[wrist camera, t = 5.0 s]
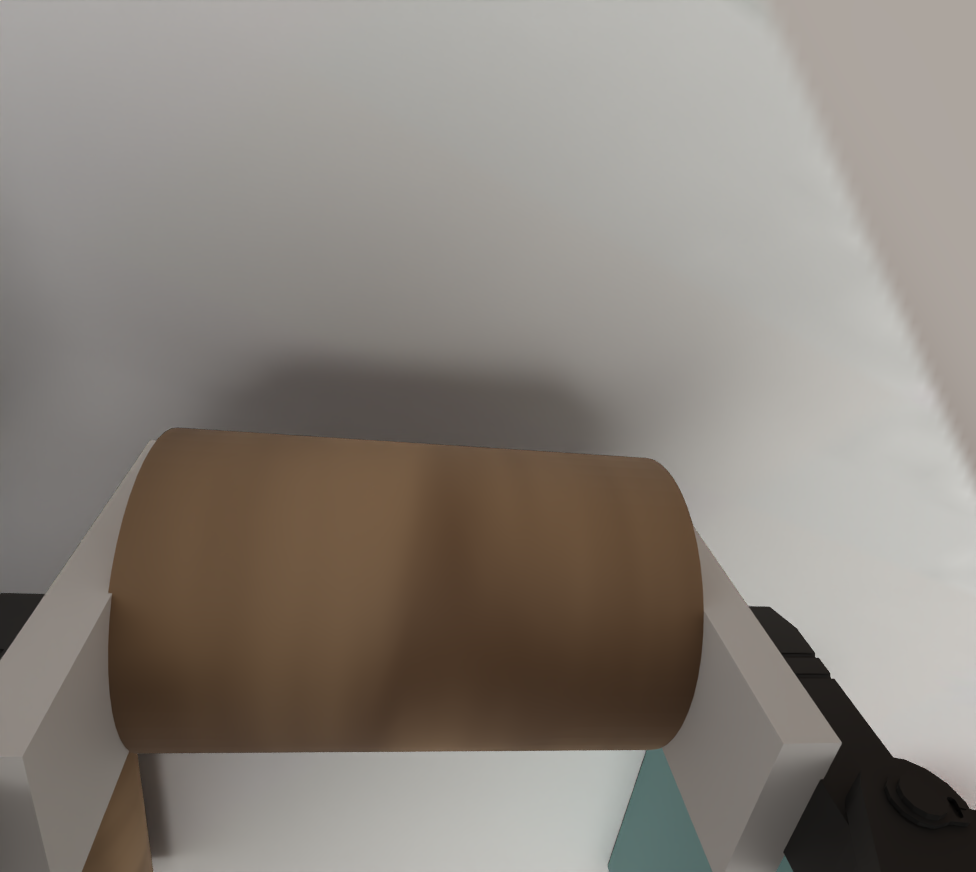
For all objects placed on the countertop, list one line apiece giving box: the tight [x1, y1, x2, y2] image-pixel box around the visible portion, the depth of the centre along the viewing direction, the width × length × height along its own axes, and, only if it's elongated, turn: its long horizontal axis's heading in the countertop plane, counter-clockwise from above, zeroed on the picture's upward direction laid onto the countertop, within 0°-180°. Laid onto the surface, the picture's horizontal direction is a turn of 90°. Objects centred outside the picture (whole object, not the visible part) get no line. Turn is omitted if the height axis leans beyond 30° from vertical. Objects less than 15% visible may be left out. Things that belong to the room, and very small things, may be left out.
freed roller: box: [108, 428, 704, 753], centre depth 12 cm, size 5×8×5 cm, turn 82°
